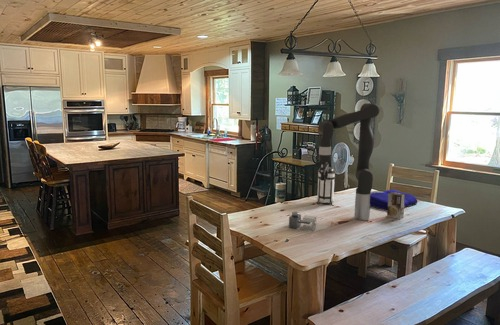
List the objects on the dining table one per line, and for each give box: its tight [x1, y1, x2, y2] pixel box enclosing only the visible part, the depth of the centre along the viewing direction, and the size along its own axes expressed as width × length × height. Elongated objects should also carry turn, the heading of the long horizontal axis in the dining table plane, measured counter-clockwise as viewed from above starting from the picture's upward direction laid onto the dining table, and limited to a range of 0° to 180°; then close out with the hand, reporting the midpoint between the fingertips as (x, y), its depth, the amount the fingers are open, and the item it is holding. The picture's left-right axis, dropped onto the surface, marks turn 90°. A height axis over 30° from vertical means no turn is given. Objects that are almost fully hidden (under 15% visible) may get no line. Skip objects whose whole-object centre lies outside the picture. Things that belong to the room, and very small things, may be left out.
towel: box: [370, 189, 418, 211], centre depth 284 cm, size 26×36×9 cm
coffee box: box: [386, 192, 405, 220], centre depth 252 cm, size 9×6×16 cm
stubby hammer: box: [288, 211, 312, 230], centre depth 228 cm, size 12×8×9 cm, turn 65°
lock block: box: [302, 215, 317, 232], centre depth 226 cm, size 7×5×8 cm
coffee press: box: [316, 166, 336, 206], centre depth 281 cm, size 17×16×30 cm
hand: (324, 179), depth 237 cm, fingers open, 8 cm apart
